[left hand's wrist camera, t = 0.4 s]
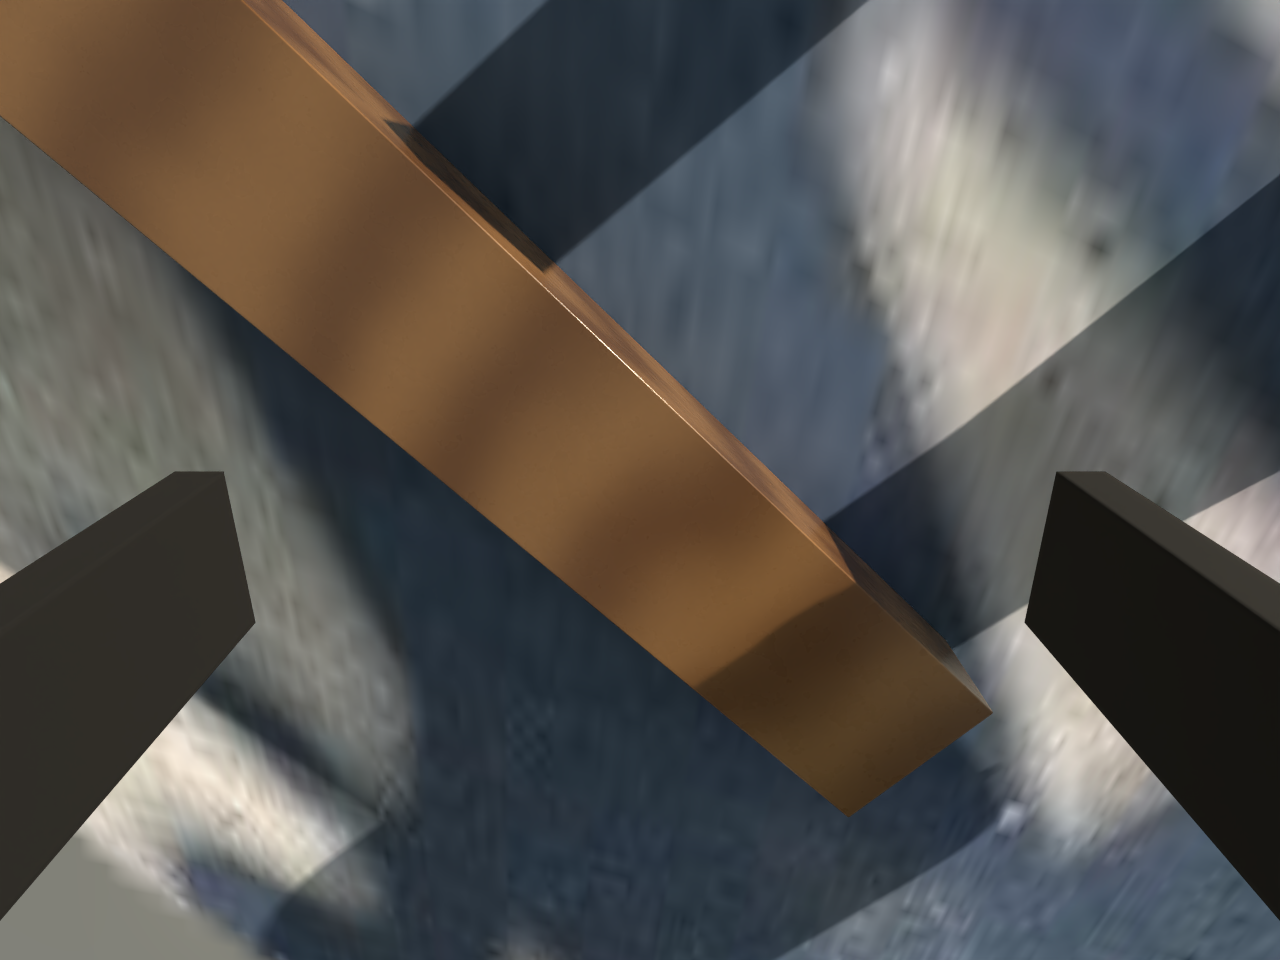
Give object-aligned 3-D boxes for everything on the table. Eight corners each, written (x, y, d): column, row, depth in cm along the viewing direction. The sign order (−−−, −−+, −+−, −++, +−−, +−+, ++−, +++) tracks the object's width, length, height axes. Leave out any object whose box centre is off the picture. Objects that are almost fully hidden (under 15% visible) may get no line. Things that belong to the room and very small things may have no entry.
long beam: (-455, -359, 29) (-750, -503, 23) (-364, -623, 27) (-668, -865, 20) (821, 734, 48) (848, 818, 41) (945, 639, 45) (993, 713, 39)
